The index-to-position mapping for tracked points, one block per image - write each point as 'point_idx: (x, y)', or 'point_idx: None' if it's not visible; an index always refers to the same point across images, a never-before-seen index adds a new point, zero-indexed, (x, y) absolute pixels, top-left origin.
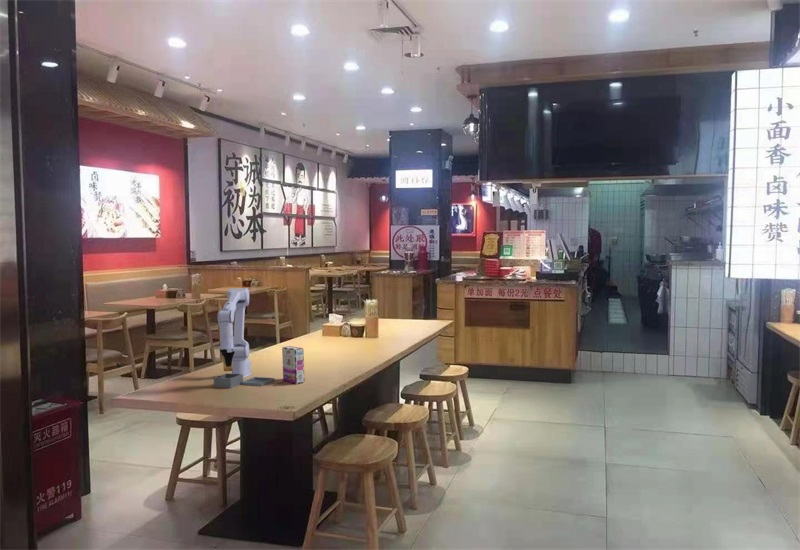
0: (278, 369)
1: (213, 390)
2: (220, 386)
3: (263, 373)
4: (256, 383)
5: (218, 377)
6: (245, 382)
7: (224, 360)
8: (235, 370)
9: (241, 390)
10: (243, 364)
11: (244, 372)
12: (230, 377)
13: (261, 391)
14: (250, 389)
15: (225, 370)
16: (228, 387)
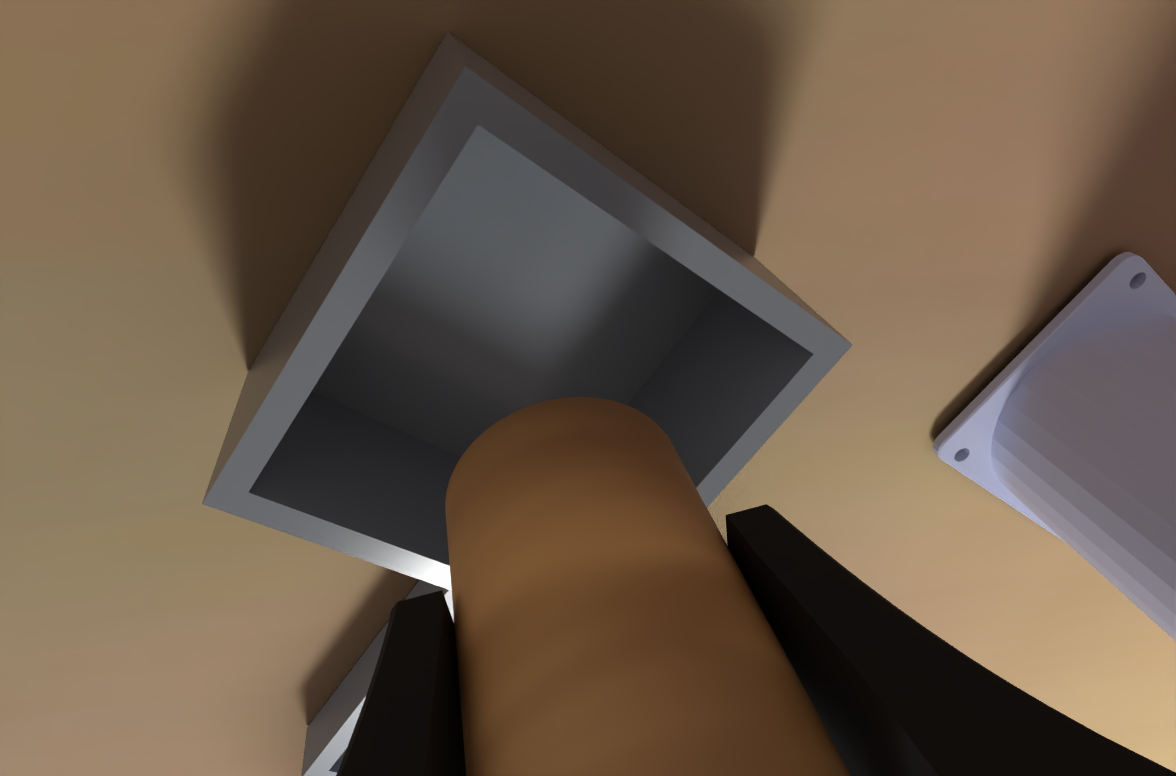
0: (1138, 716)
1: (230, 21)
2: (361, 188)
3: (1072, 627)
4: (341, 721)
5: (418, 207)
6: (443, 593)
7: (515, 733)
8: (1118, 440)
9: (141, 534)
10: (1152, 614)
11: (1045, 523)
12: (717, 389)
13: (34, 767)
14: (196, 634)
15: (461, 474)
16: (269, 345)
